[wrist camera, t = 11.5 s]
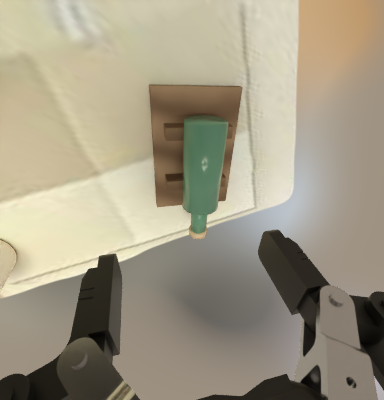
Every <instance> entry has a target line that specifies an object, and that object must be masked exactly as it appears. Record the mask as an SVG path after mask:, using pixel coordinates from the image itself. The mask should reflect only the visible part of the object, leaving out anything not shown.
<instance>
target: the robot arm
mask: <svg viewBox="0 0 384 400" xmlns="http://www.w3.org/2000/svg"><path fill="white" fill-rule="evenodd" d="M258 255H259V258H260V260H261V262H262V264H263V266H264V267H265V269H266V271H267V273H268V274H269V276H270V278H271V280H272V281H273V283H274V285H275V286H276V288H277V290H278V292H279V293H280V295H281V297H282V299H283V300H284V302H285V304H286V305H287V307H288V309H289V311H290V312H291V314H292V315H293V314H297V313H300V314H301V316H302V317H303V318H302V320H301V336H300V352H299V361H298V365H297V368H296V372H295V379H294V381H291V380H289V378H288V376H287V374H284V375H281V376H278V377H274V378H271V379H267V380H264V381H263V382H261V383H260V384H259V385H257V386H256V387H255V388H253V389H252V390H251V391H249V392H248V393H247V394H245V395H244V396H229V395H212V396H209V397H205V398H201V399H198V400H378V398H377V393H376V387H375V381H374V376H375V378H376V379H377V381H378V382H379V384H380V385H381V387H382V388H383V390H384V292H374V293H372V294H371V295H370V297H369V298H368V297H360V296H351V295H348V294H347V293H346V292H345V291H343V290H341V289H340V288H338V287H335V286H331V285H330V284H329V283H328V282H327V281H326V279H325V278H324V277H323V276H322V274H321V273H320V272H319V271H318V269H317V268H316V267H315V266H314V264H313V263H312V262H311V261H310V259H308V257H307V256H306V254H305V253H303V251H302V249H301V248H300V247H299V246H298V244H297V243H295V242H294V241H292V240H291V239H290V238H285V237H284V236H283V234H282V233H281V232H280V231H279V230H271V231H265V232H264V233H263V235H262V239H261V242H260V246H259V249H258ZM121 297H122V275H121V270H120V266H119V263H118V259H117V256H116V254H109V255H102V256H99V260H98V267H97V268H91V269H88V271H87V272H86V274H85V276H84V277H83V279H82V283H81V288H80V293H79V298H78V303H77V308H76V312H75V317H74V322H73V327H72V332H71V337H70V340H69V342H68V344H67V346H66V348H65V349H64V350H63V352H62V353H61V354H60V355H59V356H58V357H57V358H56V359H54V360H53V361H51V362H50V363H48V364H46V365H45V366H43V367H41V368H39V369H38V370H36V371H34V372H32V373H30V374H29V375H27V376H24V375H23V374H13V375H9V376H7V377H5V378H3V379H2V380H0V400H140V399H139V398H138V397H137V395H136V394H135V393H134V391H133V390H132V389H131V388H130V386H129V385H127V384H126V382H125V381H124V380H123V378H122V377H121V376H120V375H119V373H118V372H117V370H116V369H115V368H114V366H113V365H112V360H113V356H114V355H119V354H120V326H121V299H122V298H121Z"/></svg>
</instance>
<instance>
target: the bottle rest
mask: <svg viewBox="0 0 384 400" xmlns="http://www.w3.org/2000/svg"><path fill="white" fill-rule="evenodd" d="M149 87H150V104H151V120H152V137H153V153H154V170H155V186H156V203H157V207H164V206H174V205H182V197H183V146H184V119H185V118H186V117H189V116H195V115H208V116H216V117H221V118H224V119H226V120H227V121H228V130H227V138H226V146H225V153H224V161H223V169H222V176H221V184H220V192H219V200H218V201H225V200H226V193H227V186H228V180H229V173H230V166H231V160H232V153H233V147H234V140H235V133H236V127H237V120H238V113H239V107H240V100H241V94H242V87H240V86H197V85H149Z"/></svg>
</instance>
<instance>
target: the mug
mask: <svg viewBox="0 0 384 400" xmlns="http://www.w3.org/2000/svg"><path fill="white" fill-rule="evenodd" d="M16 259H17V256H16V253H15V251H14V249H13V248H12V247H11V246H10V245H9V244H7V243H6V242H4V241H2V240H0V291H1V290H2V288H3V286H4V284H5V282H6V280H7V278H8V277H9V275H10V273H11V271H12V269H13V267H14V265H15V263H16Z"/></svg>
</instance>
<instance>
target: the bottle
mask: <svg viewBox="0 0 384 400" xmlns="http://www.w3.org/2000/svg"><path fill="white" fill-rule="evenodd" d="M227 130H228V121H227V120H226V119H224V118H221V117H216V116H208V115H195V116H189V117H186V118H185V119H184V146H183V197H182V205H183V208H184V209H185V210H186V211H187V212H189V213H191V226H190V228H189V234H190V236H191V237H192V238H194V239H203V238H204V237H205V236H206V234H207V227H206V221H207V215H208V214H211V213H213V212H215V211H216V209H217V207H218V200H219V192H220V184H221V176H222V169H223V161H224V153H225V146H226V138H227Z"/></svg>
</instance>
